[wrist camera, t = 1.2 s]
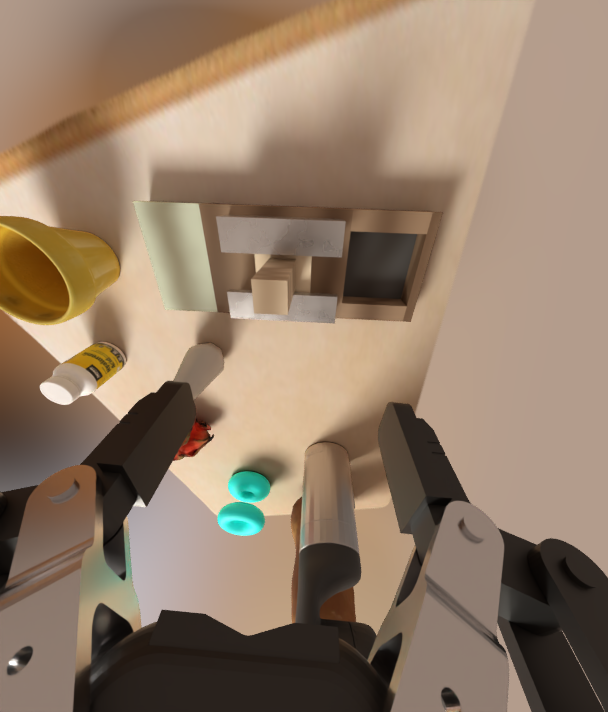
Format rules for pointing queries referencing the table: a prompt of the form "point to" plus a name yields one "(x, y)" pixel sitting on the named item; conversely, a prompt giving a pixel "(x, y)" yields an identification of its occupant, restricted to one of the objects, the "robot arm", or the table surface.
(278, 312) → the slider block
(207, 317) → the table surface
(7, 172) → the table surface
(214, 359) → the salt shaker
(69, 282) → the plant pot
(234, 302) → the grey slotted block
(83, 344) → the table surface
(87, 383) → the supplement bottle
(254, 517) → the donuts
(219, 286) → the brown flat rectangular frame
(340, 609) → the butternut squash
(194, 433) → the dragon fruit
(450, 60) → the table surface
